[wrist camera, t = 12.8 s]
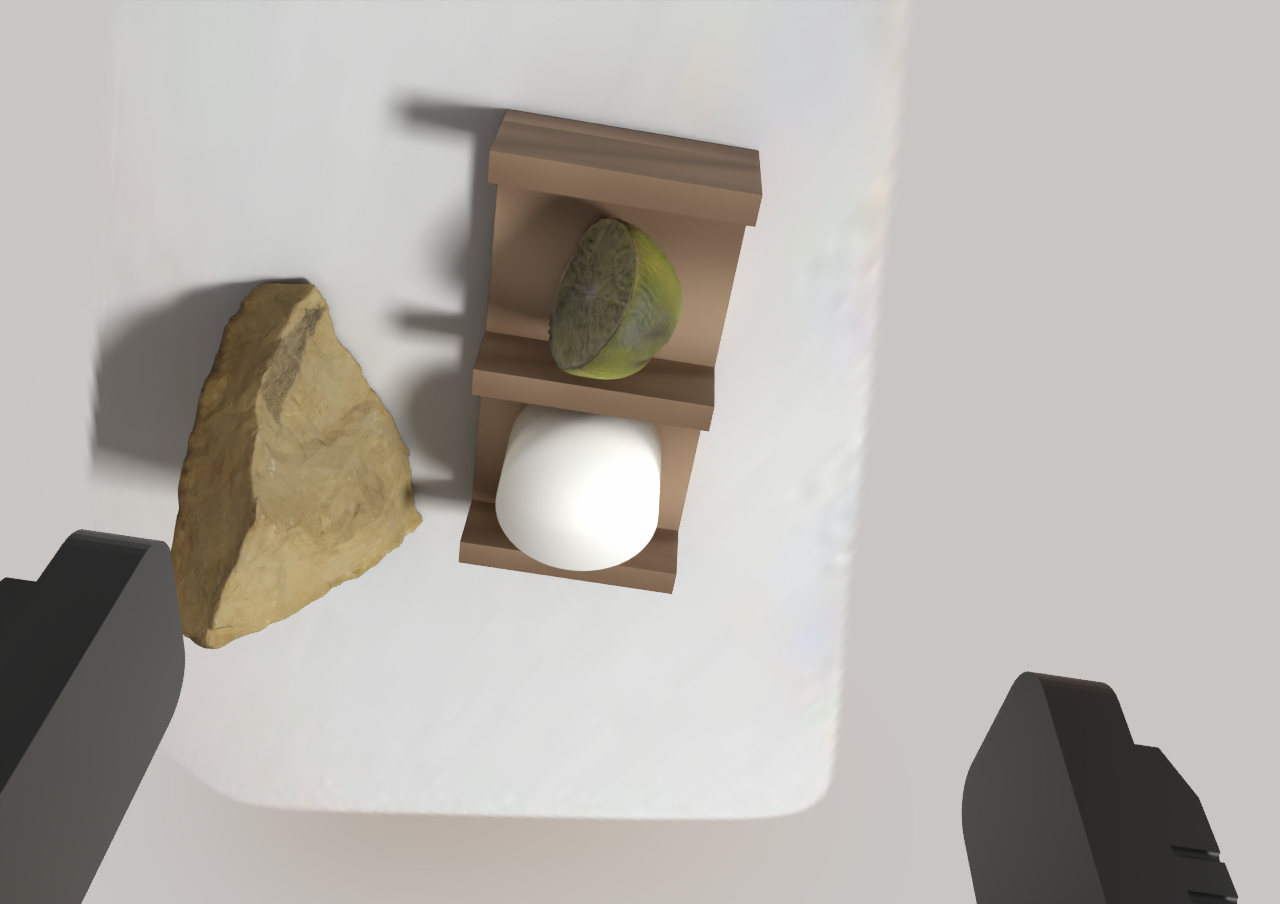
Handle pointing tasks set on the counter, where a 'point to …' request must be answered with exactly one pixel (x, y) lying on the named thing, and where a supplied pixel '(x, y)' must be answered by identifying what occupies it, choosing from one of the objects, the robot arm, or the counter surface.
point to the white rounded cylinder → (579, 487)
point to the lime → (614, 303)
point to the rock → (283, 472)
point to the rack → (525, 294)
